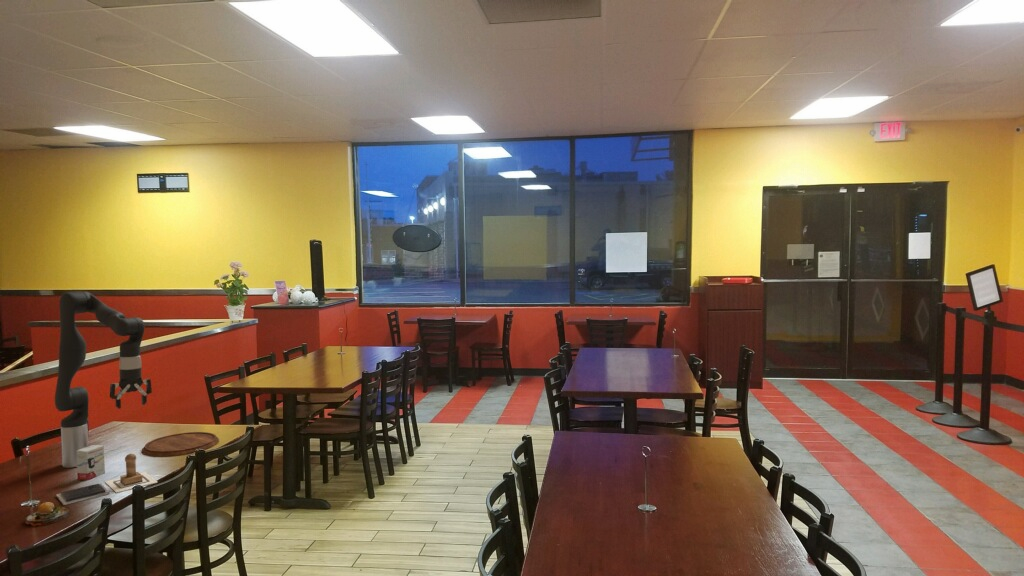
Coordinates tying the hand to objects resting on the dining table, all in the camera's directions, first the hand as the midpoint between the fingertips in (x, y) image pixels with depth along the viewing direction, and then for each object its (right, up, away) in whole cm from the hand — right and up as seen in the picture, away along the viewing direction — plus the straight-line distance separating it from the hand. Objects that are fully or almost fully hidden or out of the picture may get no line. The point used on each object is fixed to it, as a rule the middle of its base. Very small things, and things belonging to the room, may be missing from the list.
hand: (131, 406), depth 242 cm
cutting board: (-2, -27, +40) cm, 48 cm away
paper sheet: (+4, -29, -7) cm, 30 cm away
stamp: (+4, -29, -7) cm, 30 cm away
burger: (-4, -31, -39) cm, 50 cm away
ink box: (-16, -29, 0) cm, 33 cm away
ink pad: (-6, -30, -19) cm, 36 cm away
